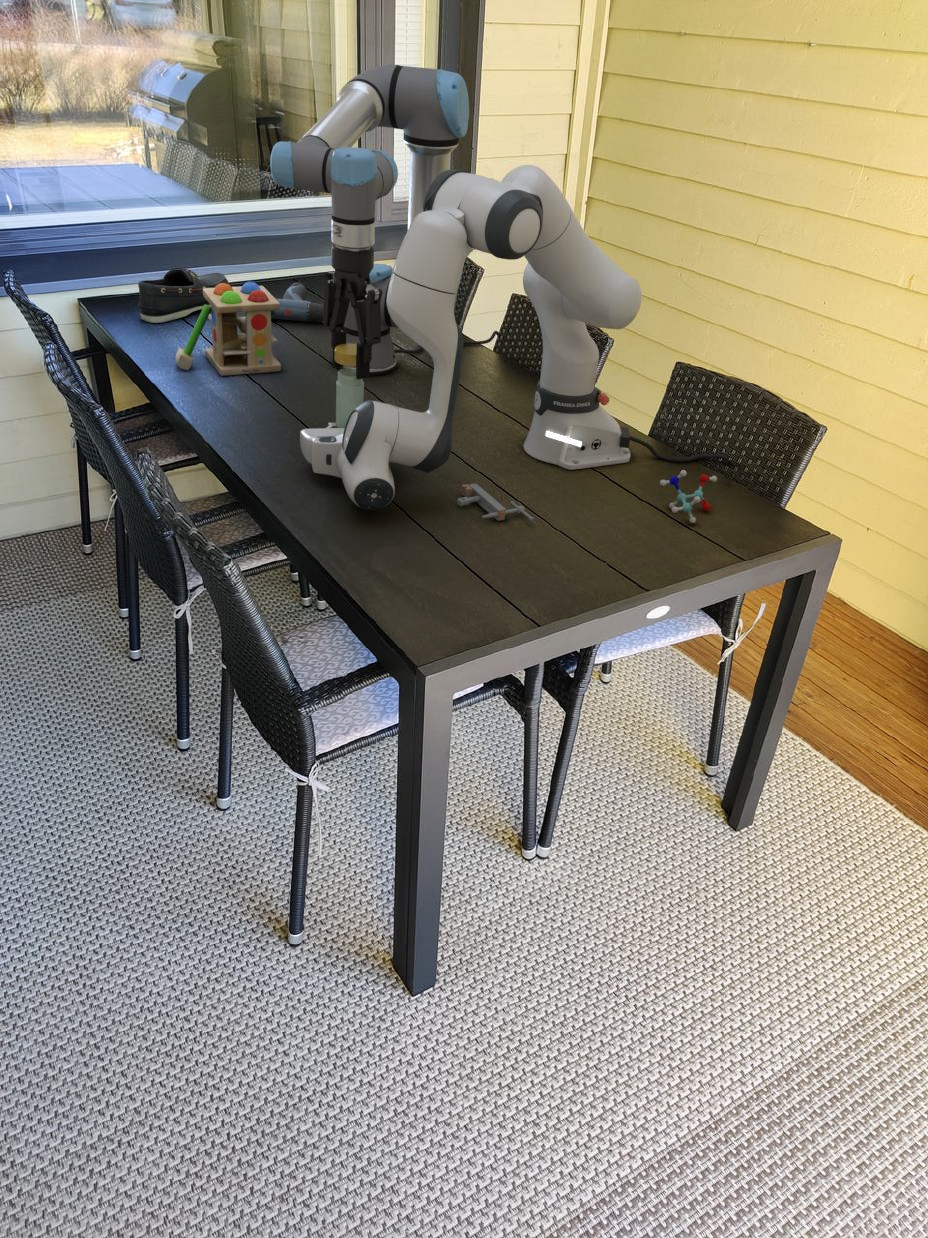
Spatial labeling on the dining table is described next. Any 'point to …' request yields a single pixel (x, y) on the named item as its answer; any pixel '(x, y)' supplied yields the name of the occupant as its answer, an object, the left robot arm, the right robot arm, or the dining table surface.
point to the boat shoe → (175, 294)
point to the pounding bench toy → (229, 347)
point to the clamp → (488, 503)
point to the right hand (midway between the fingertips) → (348, 425)
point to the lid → (346, 354)
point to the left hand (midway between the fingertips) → (350, 371)
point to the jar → (347, 395)
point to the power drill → (298, 306)
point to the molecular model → (683, 497)
